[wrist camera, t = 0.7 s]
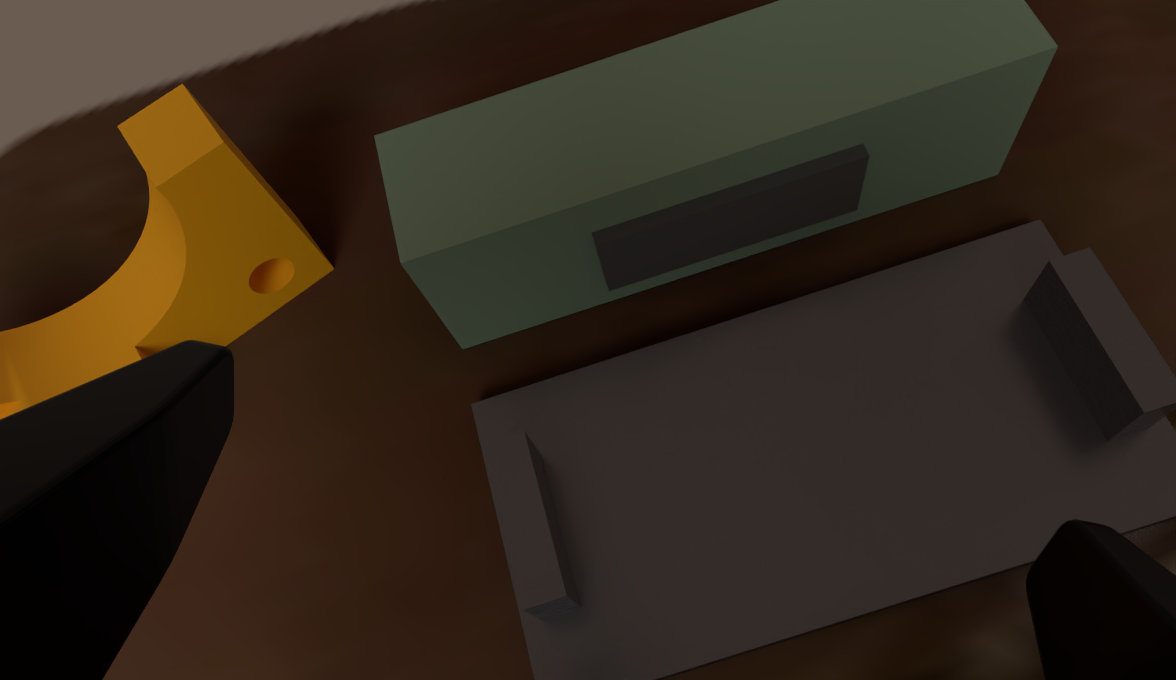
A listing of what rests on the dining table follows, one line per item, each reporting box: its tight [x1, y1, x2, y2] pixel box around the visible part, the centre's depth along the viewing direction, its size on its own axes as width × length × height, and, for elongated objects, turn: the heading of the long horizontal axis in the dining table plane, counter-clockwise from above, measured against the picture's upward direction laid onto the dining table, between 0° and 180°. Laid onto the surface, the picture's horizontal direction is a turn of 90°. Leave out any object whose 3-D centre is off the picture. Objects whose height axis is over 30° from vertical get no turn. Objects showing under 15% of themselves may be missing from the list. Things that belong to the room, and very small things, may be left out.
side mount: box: [471, 219, 1176, 680], centre depth 20 cm, size 8×16×3 cm, turn 106°
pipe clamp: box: [0, 84, 334, 419], centre depth 23 cm, size 12×4×6 cm, turn 127°
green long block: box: [374, 0, 1058, 349], centre depth 23 cm, size 4×16×5 cm, turn 106°
